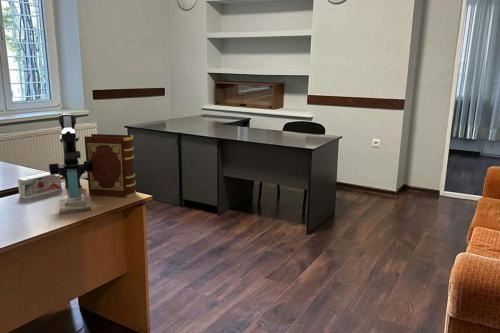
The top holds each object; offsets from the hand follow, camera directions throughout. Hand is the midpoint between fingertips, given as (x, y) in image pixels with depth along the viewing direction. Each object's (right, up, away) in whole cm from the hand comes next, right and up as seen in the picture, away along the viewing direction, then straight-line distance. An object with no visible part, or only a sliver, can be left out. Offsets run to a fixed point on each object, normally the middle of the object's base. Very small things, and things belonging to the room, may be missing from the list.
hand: (72, 183), depth 190 cm
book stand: (+1, -11, +1) cm, 11 cm away
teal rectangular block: (-1, -6, +3) cm, 7 cm away
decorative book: (+12, -7, +19) cm, 24 cm away
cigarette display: (-24, -6, +20) cm, 32 cm away
